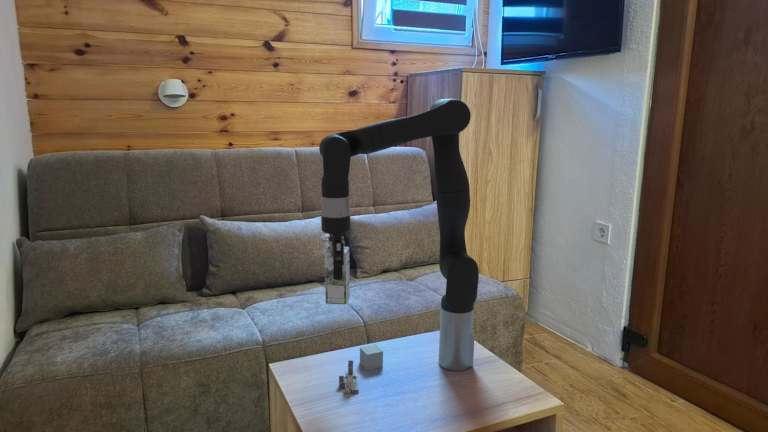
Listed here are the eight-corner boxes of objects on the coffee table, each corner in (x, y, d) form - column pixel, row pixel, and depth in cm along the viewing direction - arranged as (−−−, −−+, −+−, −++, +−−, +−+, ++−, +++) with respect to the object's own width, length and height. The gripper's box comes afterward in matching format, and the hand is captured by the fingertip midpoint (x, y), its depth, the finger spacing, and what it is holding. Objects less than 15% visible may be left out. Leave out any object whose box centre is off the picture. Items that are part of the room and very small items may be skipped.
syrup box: (350, 297, 145) (349, 245, 143) (346, 305, 140) (345, 251, 137) (329, 296, 146) (328, 245, 143) (325, 304, 140) (323, 250, 137)
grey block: (375, 360, 157) (375, 344, 156) (382, 367, 153) (383, 351, 152) (359, 363, 155) (359, 347, 154) (366, 371, 151) (366, 354, 150)
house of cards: (326, 377, 147) (326, 351, 146) (358, 377, 148) (358, 351, 146) (325, 394, 138) (324, 367, 137) (358, 394, 139) (358, 367, 137)
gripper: (353, 218, 132) (354, 283, 135) (347, 207, 146) (348, 266, 149) (322, 219, 130) (324, 284, 134) (319, 208, 144) (320, 267, 148)
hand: (336, 274), depth 141 cm, fingers closed on syrup box, 6 cm apart
